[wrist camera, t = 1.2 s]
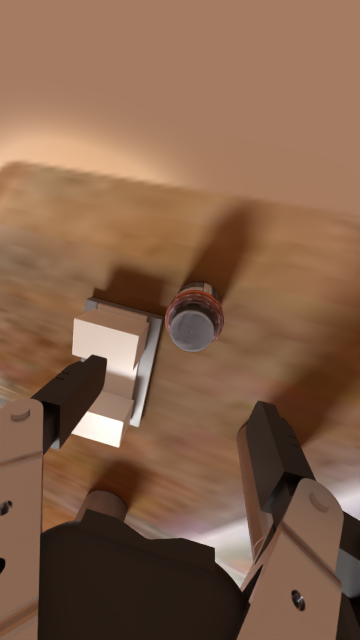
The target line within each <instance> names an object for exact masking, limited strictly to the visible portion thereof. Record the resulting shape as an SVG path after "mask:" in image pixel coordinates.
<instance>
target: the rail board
mask: <svg viewBox="0 0 360 640" xmlns="http://www.w3.org/2000/svg"><path fill="white" fill-rule="evenodd" d="M163 319H164V316H161V315H157V314H153V313H149V312H146V311H142V310H138V309H134V308H131V307H127V306H123V305H119V304H116V303H112V302H108V301H105V300H101V299H97V298H93V297H91V298H88V299H86V307H85V313H84V314H82V315H80V316H78V317H76V318H74V333H73V350H72V355H76V356H79V357H82V359H81V362H84V361H85V360H86V359H87V358H88V357H90V356H91V355H92V354H93V355H97V356H101V357H104V358H107V368H106V376H105V383H104V387H103V389H102V391H101V393H100V395H99V396H98V398H97V399H96V400H95V402H94V403H93V404H92V406H91V407H90V408H89V410H88V411H87V412H86V414H85V415H84V417H83V418H82V419H81V421H80V422H79V423H78V425H77V426H76V427H75V429H74V430H73V432H72V434H76V435H79V436H82V437H85V438H89V439H92V440H95V441H99V442H102V443H105V444H109V445H112V446H115V447H118V448H119V446H120V444H121V442H122V440H123V437H124V435H125V433H126V431H127V429H128V427H129V424H130V425H133V426H137V427H139V425H140V422H141V420H142V415H143V410H144V406H145V401H146V397H147V392H148V388H149V383H150V378H151V374H152V369H153V365H154V360H155V355H156V351H157V346H158V342H159V337H160V333H161V328H162V323H163Z"/></svg>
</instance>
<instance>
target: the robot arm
mask: <svg viewBox="0 0 360 640" xmlns="http://www.w3.org/2000/svg"><path fill="white" fill-rule="evenodd" d="M106 368H107V358H104V357H101V356H97V355H93V354H92V355H91V356H90V357H88V358H87V359H86V360H85V361H84V362H81V361H78V362H75V363H73V364H71V365H69V366H68V367H66V368H65V369H64V370H63V371H62V372H61V373H59V374H58V375H57V376H56V377H55V378H53V379H52V380H51V381H50V382H49V383H48V384H46V385H45V386H44V387H43V388H42V389H40V390H39V391H38V392H37V393H36V394H35V395H33V396H32V397H31V398H30V399H20V400H16V401H13V402H11V403H9V404H7V405H5V406H4V407H3V408H1V409H0V640H360V521H359V520H358V519H356V518H354V517H352V516H351V515H349V514H347V513H346V512H344V511H343V510H342V508H341V506H340V504H339V503H338V501H337V500H336V498H335V497H334V496H333V495H332V493H331V492H330V491H329V490H328V489H327V488H325V487H324V486H323V485H321V484H320V483H318V482H317V481H316V479H315V477H314V475H313V473H312V471H311V468H310V466H309V464H308V462H307V460H306V457H305V455H304V453H303V451H302V449H301V448H300V444H299V442H298V440H296V436H295V433H294V431H293V429H292V427H291V426H290V425H289V424H288V423H287V421H286V420H285V419H284V418H281V417H280V416H279V413H278V411H277V408H276V406H275V405H273V404H270V403H266V402H262V401H258V402H257V403H256V405H255V407H254V409H253V412H252V414H251V416H250V418H249V420H248V423H247V424H246V425H245V426H244V427H243V428H241V430H240V431H239V433H238V436H237V447H238V454H239V461H240V469H241V477H242V484H243V491H244V499H245V506H246V513H247V521H248V528H249V535H250V542H251V550H252V557H253V565H252V567H251V569H250V571H249V573H248V575H247V576H246V578H245V580H244V582H243V583H242V585H241V587H240V588H239V587H238V585H237V584H236V583H235V581H234V580H233V579H232V578H231V577H230V575H229V574H228V573H227V572H226V571H225V570H224V569H223V568H222V567H221V566H219V565H218V564H217V563H215V548H213V547H210V546H207V545H203V544H200V543H197V542H194V541H191V540H187V539H184V538H173V539H153V540H150V539H146V538H144V537H143V536H142V535H140V534H139V533H137V532H136V531H135V530H133V529H132V528H131V527H129V526H128V525H127V524H125V523H124V522H122V521H121V520H120V519H118V518H116V517H113V516H110V515H106V514H103V513H100V512H97V511H93V510H90V509H86V511H85V513H84V516H83V518H82V520H75V521H70V522H66V523H62V524H59V525H57V526H55V527H52V528H50V529H48V530H46V531H45V532H43V533H42V510H43V455H44V454H45V453H46V452H47V450H48V449H49V448H50V447H51V448H55V449H58V450H59V449H60V448H61V446H62V445H63V444H64V442H65V441H66V440H67V438H68V437H69V436H70V434H71V433H72V432H73V430H74V429H75V427H76V426H77V425H78V423H79V422H80V421H81V419H82V418H83V417H84V415H85V414H86V412H87V411H88V410H89V408H90V407H91V406H92V404H93V403H94V402H95V400H96V399H97V398H98V396H99V395H100V393H101V391H102V389H103V387H104V383H105V376H106Z"/></svg>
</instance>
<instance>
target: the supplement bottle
mask: <svg viewBox="0 0 360 640" xmlns="http://www.w3.org/2000/svg"><path fill="white" fill-rule="evenodd" d="M165 324H166V328H167V331H168V333H169V335H170V336H171V339H172V340H173V342H174V343H175V345H177V346H178V347H179V348H181V349H183V350H185V351H190V352H196V351H200V350H203V349H205V348H206V347H208V346H209V345H210V344H211V343H213V342H214V341H215V340H216V339H217V338H218V337H219V335H220V333H221V331H222V329H223V324H224V317H223V311H222V307H221V302H220V297H219V295H218V293H217V291H216V290H215V288H213V287H212V286H211V285H210V284H208V283H205V282H201V281H195V282H191V283H189V284H187V285H185V286H184V287H183V288H182V289H181V290H180V291H179V292H178V294H177V295H176V296H175V298H174V299H173V300H172V302H171V303H170V305H169V307H168V309H167V312H166V316H165Z"/></svg>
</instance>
